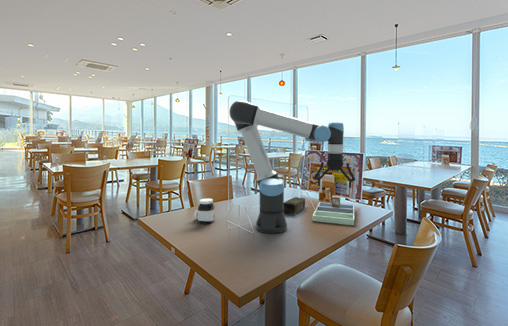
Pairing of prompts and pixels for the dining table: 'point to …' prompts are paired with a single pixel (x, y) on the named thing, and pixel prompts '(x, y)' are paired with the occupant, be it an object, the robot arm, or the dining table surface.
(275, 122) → the robot arm
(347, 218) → the pale green tray
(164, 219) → the dining table surface
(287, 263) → the dining table surface
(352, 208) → the grey tray
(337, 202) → the letter block
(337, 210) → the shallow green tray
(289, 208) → the beverage carton
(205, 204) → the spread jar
